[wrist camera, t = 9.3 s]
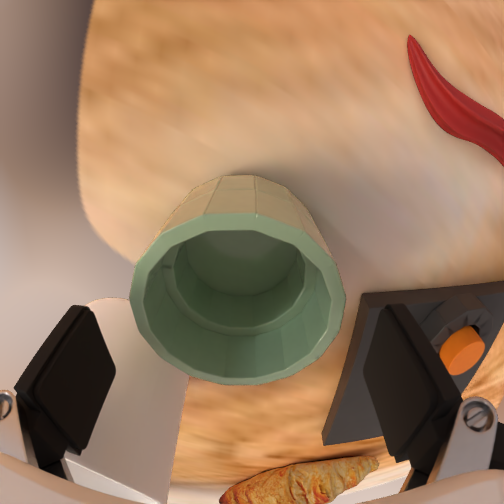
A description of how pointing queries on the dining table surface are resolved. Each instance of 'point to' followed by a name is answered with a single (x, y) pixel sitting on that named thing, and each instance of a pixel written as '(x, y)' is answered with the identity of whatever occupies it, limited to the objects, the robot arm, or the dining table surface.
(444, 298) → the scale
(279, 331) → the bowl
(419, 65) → the cayenne pepper
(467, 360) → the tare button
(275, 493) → the croissant
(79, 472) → the cup
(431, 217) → the dining table surface
